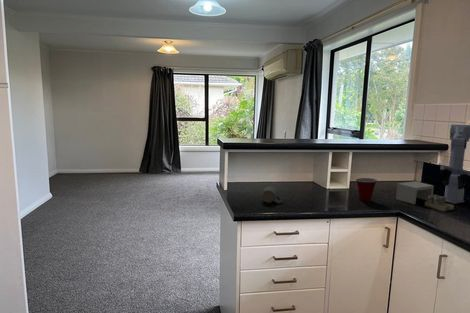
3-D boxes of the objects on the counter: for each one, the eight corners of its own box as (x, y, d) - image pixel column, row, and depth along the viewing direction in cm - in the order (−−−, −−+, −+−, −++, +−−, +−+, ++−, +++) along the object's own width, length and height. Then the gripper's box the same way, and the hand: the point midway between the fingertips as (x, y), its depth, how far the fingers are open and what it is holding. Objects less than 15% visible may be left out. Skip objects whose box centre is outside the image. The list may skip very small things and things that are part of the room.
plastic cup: (357, 196, 184) (359, 176, 183) (377, 200, 178) (379, 179, 176) (351, 200, 176) (352, 179, 174) (371, 204, 169) (373, 182, 168)
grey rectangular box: (413, 196, 187) (415, 181, 186) (431, 201, 177) (433, 185, 176) (395, 198, 181) (397, 183, 179) (414, 204, 171) (415, 188, 169)
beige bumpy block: (434, 204, 173) (435, 194, 172) (453, 209, 164) (454, 199, 163) (424, 206, 169) (425, 195, 168) (443, 211, 160) (444, 201, 159)
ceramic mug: (260, 202, 168) (261, 188, 167) (263, 198, 176) (264, 185, 174) (280, 205, 165) (281, 190, 164) (283, 201, 173) (283, 187, 172)
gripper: (449, 155, 155) (445, 182, 153) (476, 163, 156) (473, 190, 154) (438, 157, 162) (435, 183, 160) (464, 165, 163) (461, 190, 161)
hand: (453, 187), depth 158 cm, fingers open, 7 cm apart
